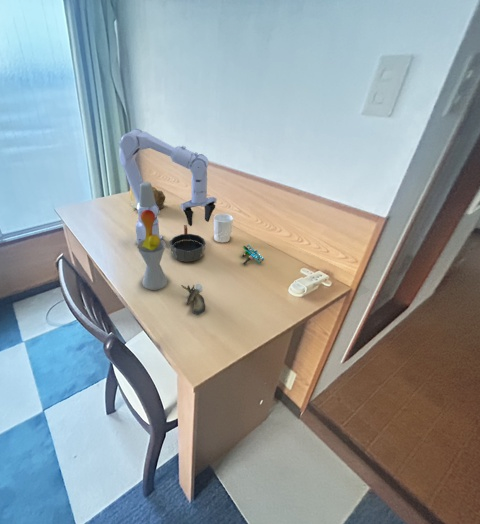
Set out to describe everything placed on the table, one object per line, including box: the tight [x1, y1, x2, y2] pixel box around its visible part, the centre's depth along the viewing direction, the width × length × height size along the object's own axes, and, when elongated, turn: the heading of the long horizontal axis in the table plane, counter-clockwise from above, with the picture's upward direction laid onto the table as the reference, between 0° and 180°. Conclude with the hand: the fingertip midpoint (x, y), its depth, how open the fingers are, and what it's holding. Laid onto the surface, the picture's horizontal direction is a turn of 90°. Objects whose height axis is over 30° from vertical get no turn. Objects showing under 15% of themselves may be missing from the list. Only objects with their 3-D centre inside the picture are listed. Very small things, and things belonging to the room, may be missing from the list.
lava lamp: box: [136, 181, 168, 291], centre depth 88 cm, size 9×9×35 cm
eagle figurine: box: [181, 283, 206, 316], centre depth 86 cm, size 8×7×9 cm
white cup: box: [213, 213, 234, 243], centre depth 119 cm, size 8×8×10 cm
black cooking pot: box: [169, 224, 206, 263], centre depth 110 cm, size 16×13×8 cm
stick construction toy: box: [241, 244, 265, 266], centre depth 106 cm, size 12×7×8 cm
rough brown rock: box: [129, 185, 166, 210], centre depth 148 cm, size 23×17×15 cm
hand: (198, 222), depth 112 cm, fingers open, 7 cm apart
